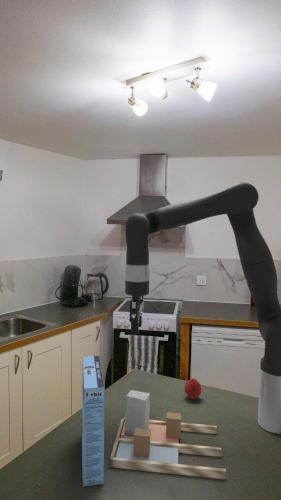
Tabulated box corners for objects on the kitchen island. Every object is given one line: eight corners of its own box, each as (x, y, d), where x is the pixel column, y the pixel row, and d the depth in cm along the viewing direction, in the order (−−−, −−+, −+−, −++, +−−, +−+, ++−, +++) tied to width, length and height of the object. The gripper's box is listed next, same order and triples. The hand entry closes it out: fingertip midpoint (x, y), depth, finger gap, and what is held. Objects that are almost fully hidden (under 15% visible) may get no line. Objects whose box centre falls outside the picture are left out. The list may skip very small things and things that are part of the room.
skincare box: (149, 433, 94) (150, 393, 93) (144, 442, 90) (146, 400, 89) (129, 428, 96) (130, 389, 95) (123, 437, 92) (125, 396, 91)
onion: (200, 395, 117) (201, 373, 117) (201, 404, 112) (202, 381, 111) (183, 394, 118) (184, 372, 117) (184, 402, 112) (185, 379, 112)
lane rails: (216, 432, 96) (216, 425, 96) (225, 479, 77) (226, 471, 77) (121, 423, 99) (122, 417, 99) (109, 467, 80) (109, 459, 80)
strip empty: (177, 452, 86) (178, 427, 86) (178, 470, 80) (179, 444, 79) (119, 446, 88) (120, 422, 88) (115, 463, 81) (115, 437, 81)
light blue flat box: (103, 485, 75) (105, 387, 73) (80, 487, 74) (82, 388, 73) (99, 433, 94) (100, 355, 93) (81, 434, 93) (82, 355, 92)
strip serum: (179, 430, 96) (180, 408, 95) (180, 449, 87) (181, 425, 87) (125, 425, 98) (126, 403, 97) (120, 443, 89) (121, 419, 89)
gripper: (147, 282, 93) (146, 338, 94) (151, 276, 108) (150, 324, 108) (121, 281, 94) (120, 337, 95) (128, 275, 108) (128, 323, 109)
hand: (136, 330), depth 102 cm, fingers open, 8 cm apart
